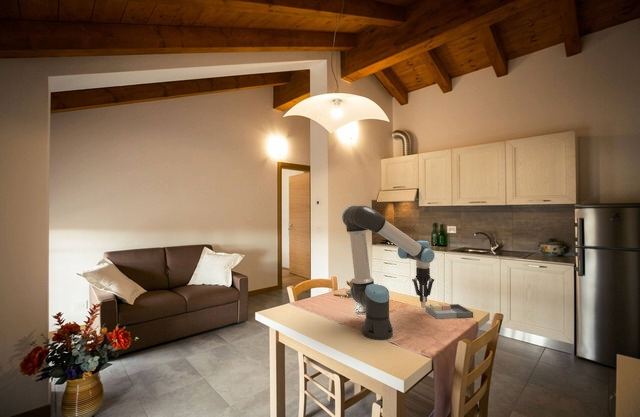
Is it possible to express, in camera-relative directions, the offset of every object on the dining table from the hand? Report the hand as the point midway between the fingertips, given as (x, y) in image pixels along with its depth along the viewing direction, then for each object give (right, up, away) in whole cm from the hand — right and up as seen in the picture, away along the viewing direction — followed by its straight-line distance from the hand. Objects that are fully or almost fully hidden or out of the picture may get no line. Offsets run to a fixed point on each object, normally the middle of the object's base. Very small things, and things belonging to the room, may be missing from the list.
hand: (423, 307), depth 177 cm
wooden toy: (-41, -5, +37) cm, 55 cm away
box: (+21, -4, +2) cm, 22 cm away
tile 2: (+13, -1, +1) cm, 13 cm away
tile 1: (+8, -1, +1) cm, 8 cm away
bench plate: (+11, -4, +1) cm, 12 cm away
